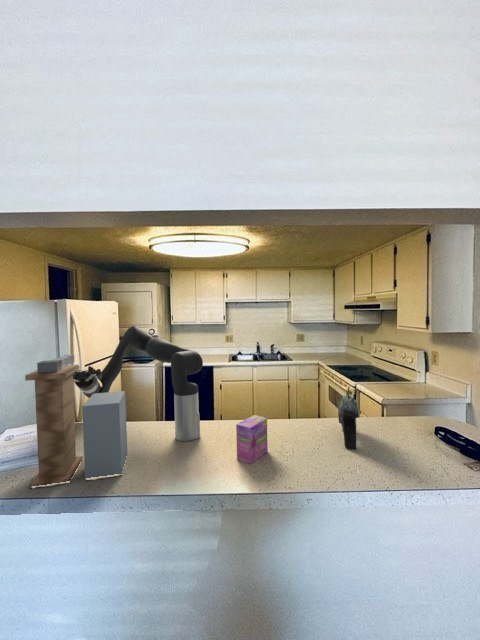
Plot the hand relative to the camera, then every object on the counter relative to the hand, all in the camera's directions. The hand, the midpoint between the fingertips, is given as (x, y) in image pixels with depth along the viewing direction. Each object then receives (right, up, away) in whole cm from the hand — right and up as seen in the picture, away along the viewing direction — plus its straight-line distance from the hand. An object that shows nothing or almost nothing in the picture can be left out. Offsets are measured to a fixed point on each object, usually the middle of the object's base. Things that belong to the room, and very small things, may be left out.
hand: (76, 369), depth 114 cm
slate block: (+20, -28, -18) cm, 39 cm away
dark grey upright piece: (+101, -26, -2) cm, 105 cm away
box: (+66, -27, -13) cm, 72 cm away
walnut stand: (+6, -28, -22) cm, 36 cm away
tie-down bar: (+4, +4, -18) cm, 19 cm away
